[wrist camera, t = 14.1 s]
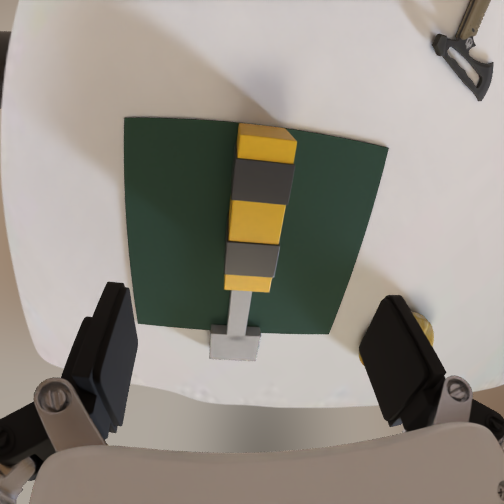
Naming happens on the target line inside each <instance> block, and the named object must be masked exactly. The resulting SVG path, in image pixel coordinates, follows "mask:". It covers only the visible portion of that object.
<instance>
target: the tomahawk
mask: <svg viewBox="0 0 504 504" xmlns="http://www.w3.org/2000/svg"><path fill="white" fill-rule="evenodd" d="M490 1H491V0H471V2H470V4H469V7H468V9H467V11H466V14H465V16H464V18H463V21H462V23H461V25H460V27H459V30H458V32H457V34H456V38H457V39H456V40H452V39H448V38H447V36H445V35H442V34H438V35H437V36H436V38H435V40H434V42H433V44H432V46H433V48H434V50H435V52H436V54H437V55H438V56H443V58H444V59H445V60H446V62H447V63H448V64H449V65H450V67H451V68H452V69H453V70H454V72H455V73H456V74H457V75H458V77H459V78H460V79H461V80H462V82H463V83H464V84H465V85H466V86H467V87H468V88H469V89H470V90H471V91H472V92H473V93H474V94H475V95H476V97H477V100H478V101H482V99H483V98H484V96H485V94H486V93H487V91H488V88H489V86H490V83H491V79H492V73H493V62H492V63H488V64H485V63H481V62H478V61H476V60H474V59H473V58H471V57H470V56H469V50H470V49H471V48H472V47H474V46H476V45H475V43H474V40H473V36H475V35H476V34H477V32H478V28H479V27H480V26H479V25H480V24H481V21H482V20H483V17H484V15H485V14H484V13H485V12H486V10H487V8H488V6H489V3H490ZM451 46H452V47H453V48H454V49H455V50H456V51H458V52H459V53H460V54H461V55H462V56H463V57H464V58H465V59H466V60H467V61H468V62H469V63H470V64H471V65H472V67H473V68H474V69H475V71H476V72H477V73H478V74H479V76H480V81H479V84H478V85H477V87H475V85H474V83H473V81H472V80H471V79H470V78H469V77H468V76H467V74H466V72H465V70H464V69H462V68H461V67H460V66H459V65H458V63H457V62H456V61H455V60H454V59H453V58H451V57H450V56H449V55H448V53H447V51H448V49H449V47H451Z"/></svg>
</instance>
